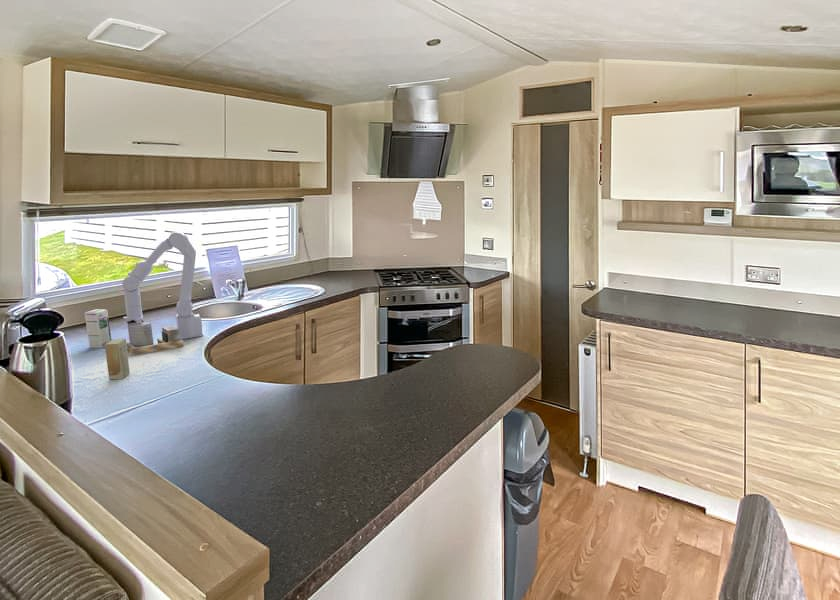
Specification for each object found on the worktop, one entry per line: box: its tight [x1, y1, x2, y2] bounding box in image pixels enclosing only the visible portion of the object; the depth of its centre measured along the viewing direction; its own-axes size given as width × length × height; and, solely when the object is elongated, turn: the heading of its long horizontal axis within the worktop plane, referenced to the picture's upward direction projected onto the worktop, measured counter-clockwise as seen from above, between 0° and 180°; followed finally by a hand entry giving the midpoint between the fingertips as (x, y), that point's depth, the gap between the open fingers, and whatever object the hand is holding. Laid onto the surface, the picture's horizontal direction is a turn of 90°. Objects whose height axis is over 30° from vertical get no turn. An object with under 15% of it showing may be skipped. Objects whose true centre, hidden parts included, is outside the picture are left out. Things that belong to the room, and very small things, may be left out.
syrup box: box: [84, 308, 112, 349], centre depth 223 cm, size 6×6×14 cm
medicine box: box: [127, 322, 154, 347], centre depth 224 cm, size 8×4×9 cm, turn 72°
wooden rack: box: [126, 325, 185, 356], centre depth 219 cm, size 19×10×7 cm, turn 129°
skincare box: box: [104, 338, 131, 380], centre depth 184 cm, size 6×4×12 cm
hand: (136, 337), depth 230 cm, fingers closed
